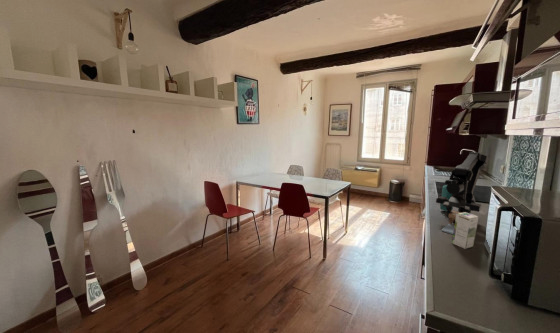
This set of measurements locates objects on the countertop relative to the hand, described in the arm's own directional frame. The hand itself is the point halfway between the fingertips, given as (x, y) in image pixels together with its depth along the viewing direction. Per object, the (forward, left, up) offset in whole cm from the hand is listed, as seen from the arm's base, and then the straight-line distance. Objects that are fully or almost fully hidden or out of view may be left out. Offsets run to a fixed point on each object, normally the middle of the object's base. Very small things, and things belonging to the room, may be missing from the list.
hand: (455, 218), depth 125 cm
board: (+10, +3, -3) cm, 11 cm away
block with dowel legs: (0, 0, -3) cm, 3 cm away
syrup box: (+25, +9, -3) cm, 27 cm away
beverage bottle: (-18, -9, -3) cm, 20 cm away
